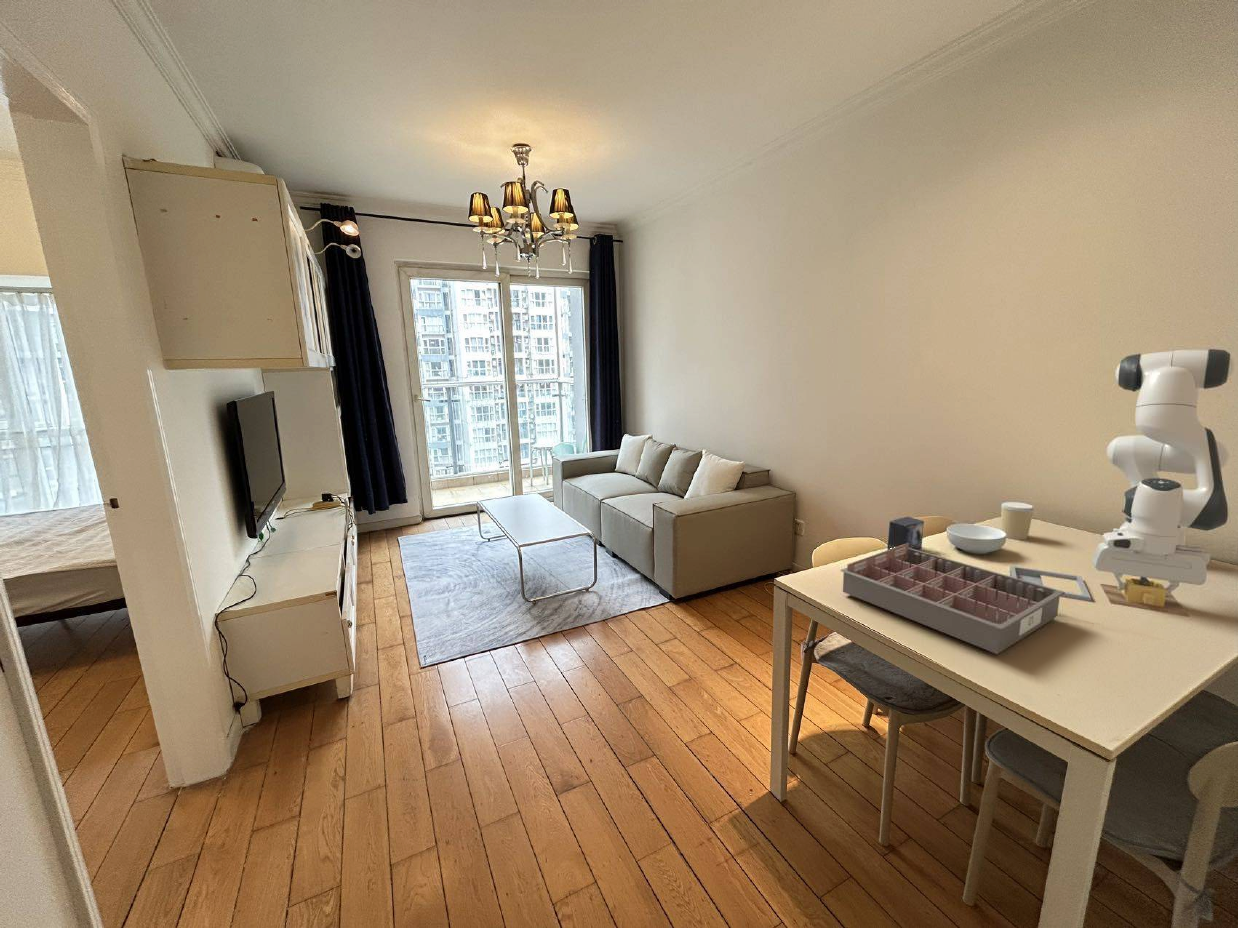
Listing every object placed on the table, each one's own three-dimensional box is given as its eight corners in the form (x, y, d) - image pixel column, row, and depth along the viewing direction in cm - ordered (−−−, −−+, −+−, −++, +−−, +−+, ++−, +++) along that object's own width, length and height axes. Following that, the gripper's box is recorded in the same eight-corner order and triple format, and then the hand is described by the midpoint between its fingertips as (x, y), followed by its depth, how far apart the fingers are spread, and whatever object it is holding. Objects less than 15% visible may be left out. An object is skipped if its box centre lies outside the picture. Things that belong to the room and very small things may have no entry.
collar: (1121, 591, 135) (1123, 575, 135) (1156, 596, 132) (1158, 581, 131) (1130, 605, 128) (1132, 589, 127) (1167, 611, 124) (1170, 594, 123)
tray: (1009, 573, 153) (1010, 565, 152) (1079, 584, 144) (1080, 576, 143) (1012, 592, 140) (1013, 584, 140) (1089, 606, 131) (1091, 597, 131)
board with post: (1099, 588, 141) (1102, 565, 139) (1171, 600, 133) (1175, 575, 131) (1109, 608, 129) (1113, 583, 128) (1189, 622, 121) (1194, 595, 120)
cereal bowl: (958, 538, 184) (960, 520, 183) (1012, 551, 170) (1015, 531, 169) (936, 549, 175) (937, 529, 174) (991, 563, 161) (993, 542, 160)
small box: (904, 554, 171) (906, 525, 169) (886, 549, 176) (888, 520, 174) (922, 548, 175) (925, 520, 174) (905, 543, 181) (907, 515, 179)
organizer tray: (999, 662, 109) (1003, 620, 107) (838, 596, 143) (839, 563, 141) (1061, 621, 124) (1066, 584, 123) (903, 570, 159) (905, 540, 157)
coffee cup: (1025, 533, 186) (1029, 502, 184) (1034, 541, 178) (1037, 509, 176) (995, 531, 190) (998, 500, 188) (1002, 539, 182) (1005, 507, 180)
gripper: (1206, 545, 125) (1197, 596, 127) (1095, 532, 136) (1088, 580, 139) (1216, 553, 119) (1206, 606, 122) (1100, 539, 131) (1092, 588, 134)
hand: (1142, 592), depth 130 cm, fingers closed on collar, 7 cm apart
